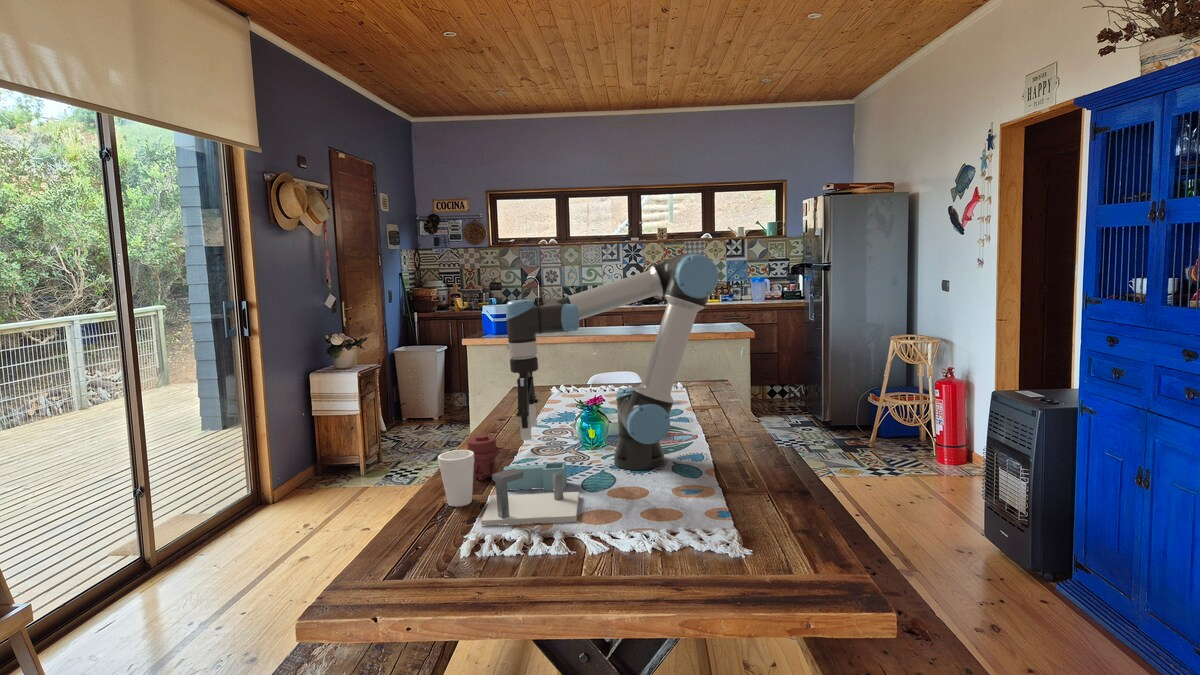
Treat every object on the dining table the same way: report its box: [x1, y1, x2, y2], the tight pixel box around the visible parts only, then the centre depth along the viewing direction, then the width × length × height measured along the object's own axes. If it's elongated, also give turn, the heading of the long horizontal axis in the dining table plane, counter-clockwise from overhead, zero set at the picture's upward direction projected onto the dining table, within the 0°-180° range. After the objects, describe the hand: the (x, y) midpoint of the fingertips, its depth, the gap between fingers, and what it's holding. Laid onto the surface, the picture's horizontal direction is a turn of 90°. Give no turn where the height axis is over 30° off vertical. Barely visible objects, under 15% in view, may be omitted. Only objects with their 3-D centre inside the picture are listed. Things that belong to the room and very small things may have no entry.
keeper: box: [491, 468, 524, 519], centre depth 178 cm, size 6×4×12 cm
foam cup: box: [437, 449, 474, 507], centre depth 193 cm, size 10×9×13 cm
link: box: [502, 461, 568, 491], centre depth 201 cm, size 17×6×6 cm, turn 89°
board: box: [480, 473, 580, 526], centre depth 183 cm, size 23×17×8 cm
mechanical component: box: [466, 433, 500, 481], centre depth 213 cm, size 12×10×10 cm
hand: (529, 433), depth 200 cm, fingers open, 13 cm apart
